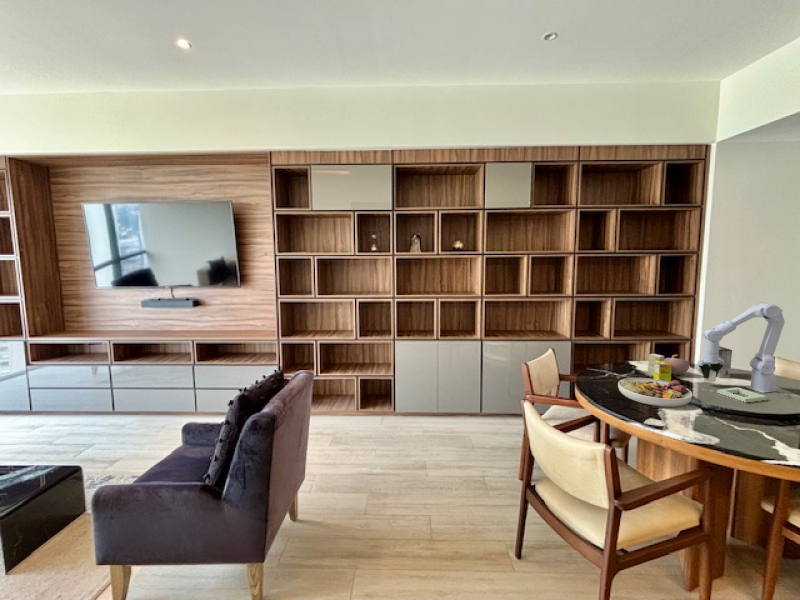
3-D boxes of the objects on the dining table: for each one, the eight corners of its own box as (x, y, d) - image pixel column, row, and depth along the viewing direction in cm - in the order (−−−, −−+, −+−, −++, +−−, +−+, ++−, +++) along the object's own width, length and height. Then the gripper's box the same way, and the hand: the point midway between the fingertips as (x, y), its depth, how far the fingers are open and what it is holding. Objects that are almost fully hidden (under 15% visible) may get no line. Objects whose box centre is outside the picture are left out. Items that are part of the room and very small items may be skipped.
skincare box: (647, 374, 214) (648, 354, 213) (652, 373, 216) (653, 353, 214) (658, 377, 208) (659, 356, 207) (663, 376, 210) (664, 355, 209)
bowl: (651, 412, 164) (652, 395, 164) (604, 389, 194) (604, 374, 193) (708, 406, 169) (710, 390, 168) (654, 384, 198) (655, 370, 198)
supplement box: (670, 384, 198) (672, 364, 196) (658, 383, 199) (659, 364, 198) (665, 380, 204) (666, 361, 202) (653, 380, 205) (654, 361, 203)
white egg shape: (708, 378, 196) (709, 369, 196) (717, 381, 192) (718, 371, 191) (701, 379, 195) (702, 370, 195) (710, 382, 191) (711, 372, 190)
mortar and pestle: (688, 373, 215) (690, 354, 213) (688, 378, 205) (690, 358, 204) (663, 369, 222) (664, 351, 221) (662, 375, 213) (663, 355, 211)
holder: (737, 391, 185) (737, 387, 185) (766, 400, 173) (766, 396, 173) (716, 393, 183) (717, 389, 183) (744, 403, 171) (745, 399, 171)
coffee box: (705, 372, 214) (707, 346, 212) (716, 372, 214) (718, 345, 212) (719, 378, 205) (721, 350, 203) (730, 377, 205) (732, 349, 203)
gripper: (714, 349, 197) (713, 374, 199) (692, 351, 194) (691, 376, 196) (729, 352, 190) (727, 378, 192) (706, 354, 188) (704, 380, 189)
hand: (709, 377), depth 193 cm, fingers closed on white egg shape, 5 cm apart
